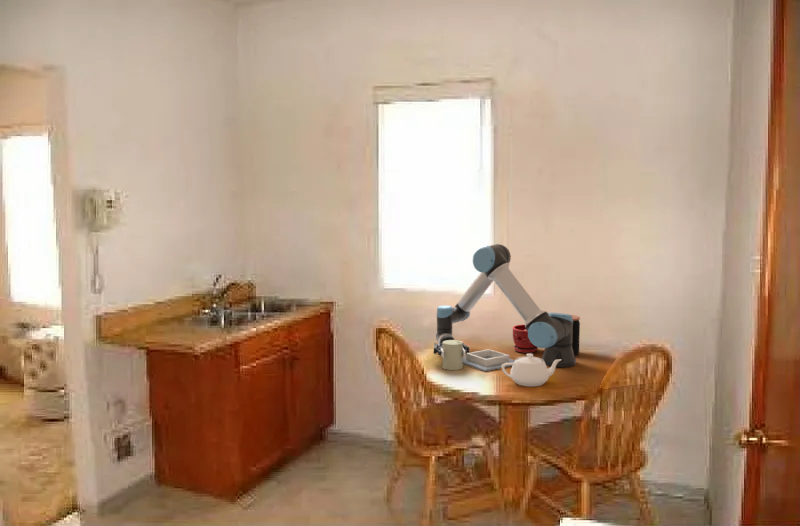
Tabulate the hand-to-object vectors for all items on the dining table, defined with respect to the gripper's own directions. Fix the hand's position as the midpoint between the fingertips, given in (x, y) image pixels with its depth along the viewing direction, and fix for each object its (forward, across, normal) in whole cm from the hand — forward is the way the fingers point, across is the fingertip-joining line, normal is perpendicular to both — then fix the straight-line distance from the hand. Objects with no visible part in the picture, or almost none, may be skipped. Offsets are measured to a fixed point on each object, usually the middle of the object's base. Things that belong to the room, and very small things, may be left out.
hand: (454, 354), depth 289 cm
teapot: (+21, -29, -7) cm, 37 cm away
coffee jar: (-25, -59, -7) cm, 64 cm away
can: (-5, 0, -7) cm, 9 cm away
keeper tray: (-11, -17, -7) cm, 21 cm away
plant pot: (-31, -40, -7) cm, 51 cm away
